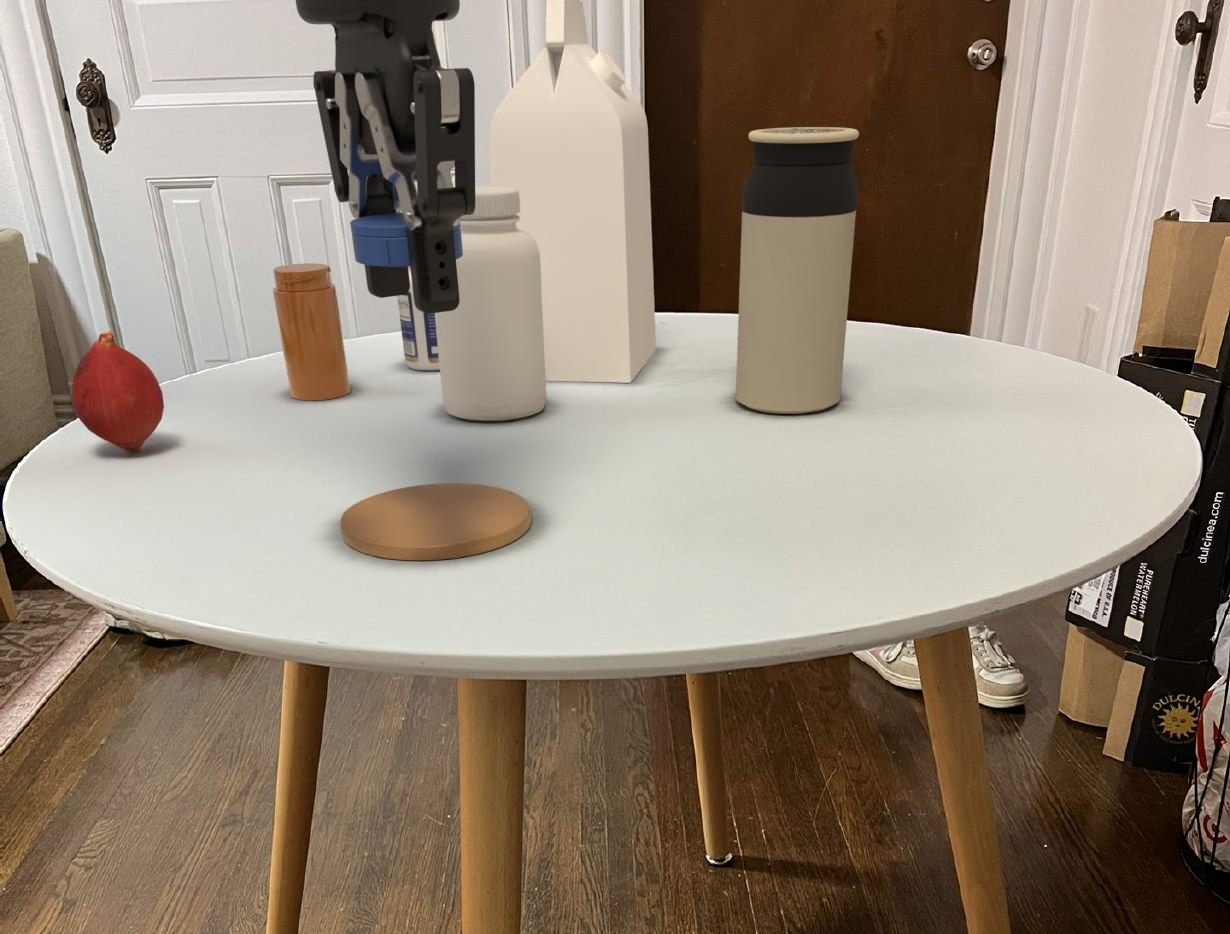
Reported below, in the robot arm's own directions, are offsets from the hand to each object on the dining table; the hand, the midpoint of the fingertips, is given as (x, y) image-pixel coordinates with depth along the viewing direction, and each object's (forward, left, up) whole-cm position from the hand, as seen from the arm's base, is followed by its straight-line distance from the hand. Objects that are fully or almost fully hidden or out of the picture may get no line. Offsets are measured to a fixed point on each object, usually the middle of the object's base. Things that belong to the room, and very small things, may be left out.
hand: (412, 301), depth 61 cm
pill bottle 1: (+18, +38, -12) cm, 44 cm away
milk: (+28, +30, -12) cm, 43 cm away
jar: (+6, +35, -12) cm, 37 cm away
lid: (0, 0, +3) cm, 3 cm away
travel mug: (+34, +9, -12) cm, 37 cm away
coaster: (0, 0, -12) cm, 12 cm away
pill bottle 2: (+15, +21, -12) cm, 29 cm away
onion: (-11, +27, -12) cm, 32 cm away
